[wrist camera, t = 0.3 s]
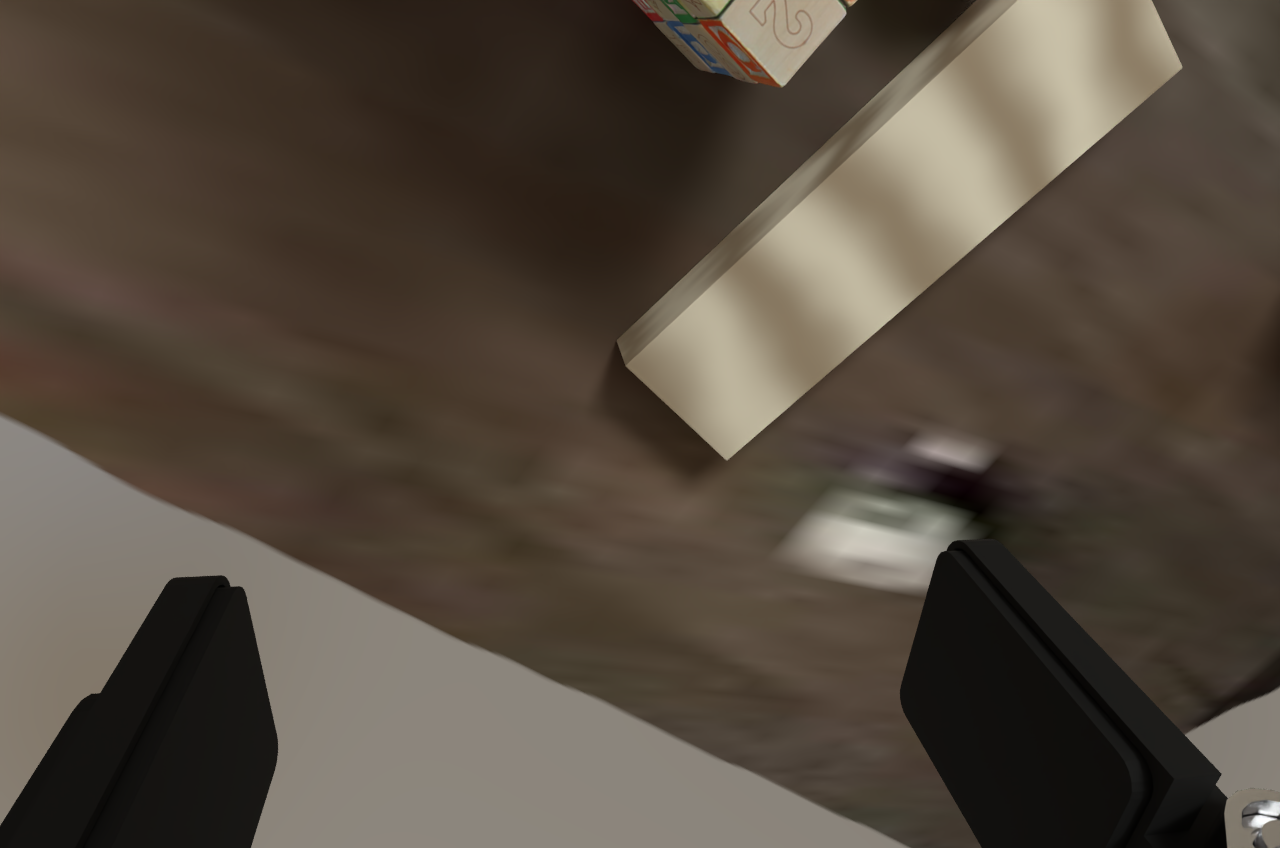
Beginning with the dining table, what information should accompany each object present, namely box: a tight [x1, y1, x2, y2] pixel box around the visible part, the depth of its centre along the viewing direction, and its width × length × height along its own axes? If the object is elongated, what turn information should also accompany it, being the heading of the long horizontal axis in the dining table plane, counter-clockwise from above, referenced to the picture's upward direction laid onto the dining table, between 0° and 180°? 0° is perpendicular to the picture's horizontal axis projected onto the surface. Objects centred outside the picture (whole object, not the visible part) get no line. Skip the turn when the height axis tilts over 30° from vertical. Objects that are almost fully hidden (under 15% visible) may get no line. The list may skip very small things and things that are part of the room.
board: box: [617, 0, 1183, 460], centre depth 38 cm, size 28×8×4 cm, turn 133°
